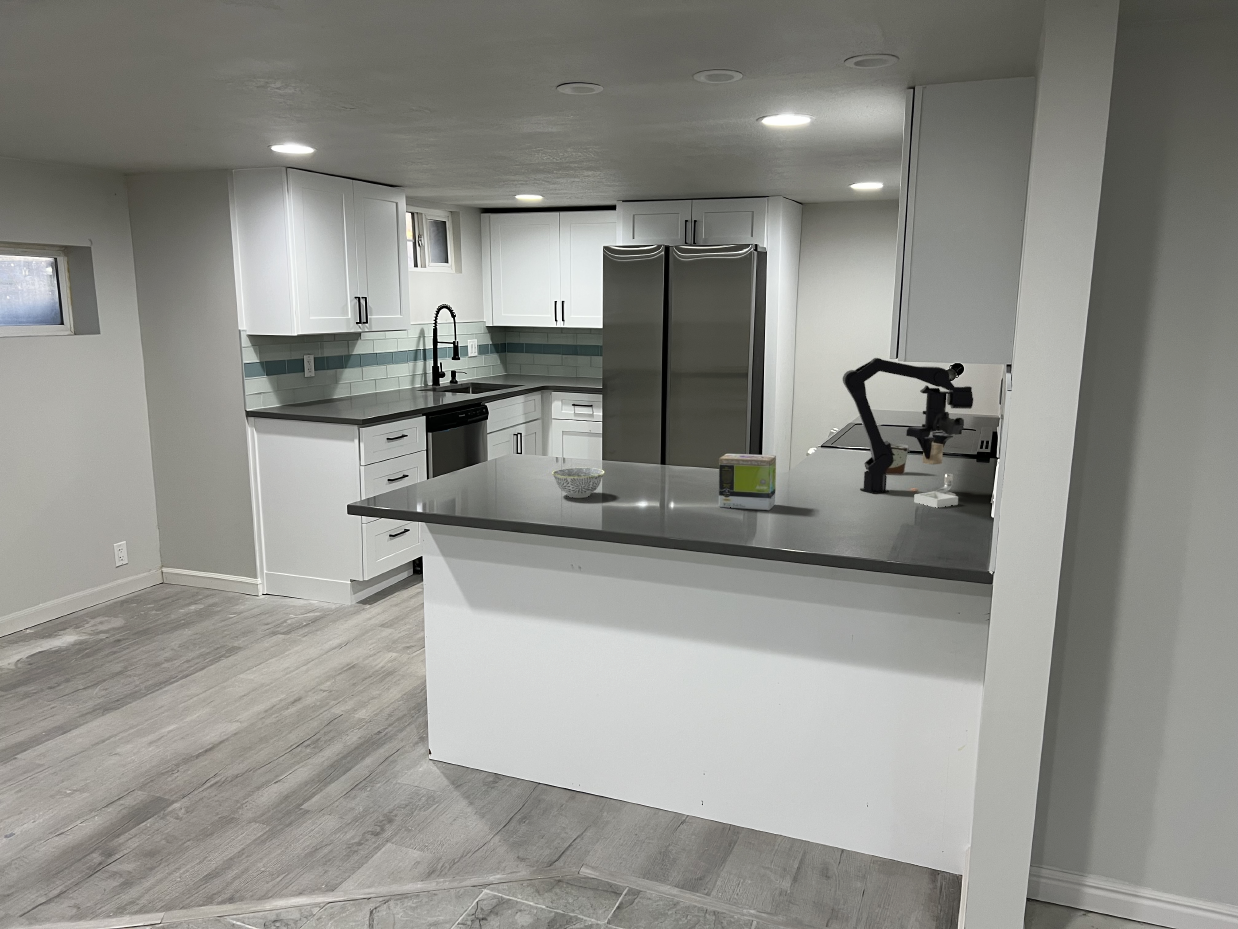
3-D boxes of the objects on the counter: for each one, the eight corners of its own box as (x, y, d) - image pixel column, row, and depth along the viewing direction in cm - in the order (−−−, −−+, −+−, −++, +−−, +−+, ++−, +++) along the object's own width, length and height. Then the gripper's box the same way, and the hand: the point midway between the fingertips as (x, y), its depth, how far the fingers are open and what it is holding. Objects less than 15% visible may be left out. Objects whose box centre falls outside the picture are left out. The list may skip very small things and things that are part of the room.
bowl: (549, 501, 269) (549, 476, 268) (555, 490, 285) (554, 466, 283) (603, 501, 268) (603, 476, 267) (605, 490, 284) (605, 467, 283)
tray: (936, 507, 260) (937, 499, 260) (914, 502, 268) (914, 494, 267) (957, 504, 264) (958, 496, 264) (934, 499, 272) (935, 491, 271)
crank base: (942, 500, 270) (942, 497, 270) (902, 491, 284) (902, 488, 284) (961, 497, 274) (961, 494, 274) (920, 488, 288) (921, 485, 288)
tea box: (775, 504, 265) (777, 454, 262) (769, 511, 256) (770, 460, 253) (725, 500, 270) (726, 451, 267) (717, 507, 261) (718, 457, 258)
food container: (904, 471, 318) (906, 443, 317) (908, 474, 312) (909, 446, 311) (868, 470, 320) (870, 442, 318) (871, 473, 314) (873, 445, 312)
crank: (945, 494, 273) (946, 480, 273) (935, 493, 275) (936, 479, 274) (953, 487, 283) (954, 474, 282) (943, 486, 285) (944, 473, 284)
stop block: (933, 464, 277) (934, 445, 276) (922, 462, 281) (923, 443, 280) (941, 463, 279) (943, 444, 278) (931, 461, 283) (932, 442, 282)
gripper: (935, 412, 265) (932, 464, 268) (978, 409, 275) (974, 459, 277) (906, 408, 275) (903, 459, 278) (948, 405, 284) (945, 454, 287)
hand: (932, 458), depth 280 cm, fingers closed on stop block, 4 cm apart
